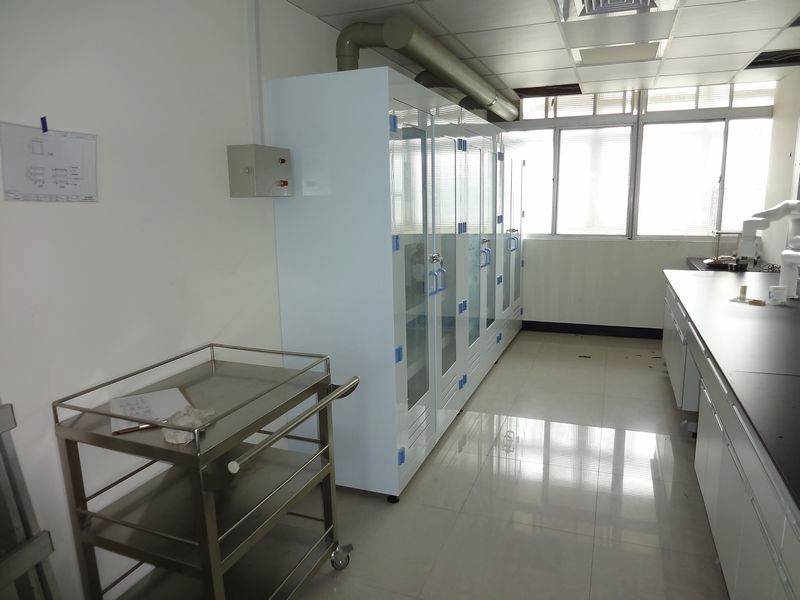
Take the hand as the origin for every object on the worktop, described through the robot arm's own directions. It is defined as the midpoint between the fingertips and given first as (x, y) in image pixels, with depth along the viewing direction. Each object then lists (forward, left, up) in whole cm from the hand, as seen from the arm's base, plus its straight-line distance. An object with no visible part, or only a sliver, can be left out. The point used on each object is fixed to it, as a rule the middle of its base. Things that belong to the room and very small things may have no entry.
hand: (746, 265), depth 345 cm
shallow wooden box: (+6, +10, -24) cm, 26 cm away
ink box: (-3, +18, -24) cm, 30 cm away
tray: (0, 0, -24) cm, 24 cm away
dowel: (0, 0, -23) cm, 23 cm away
